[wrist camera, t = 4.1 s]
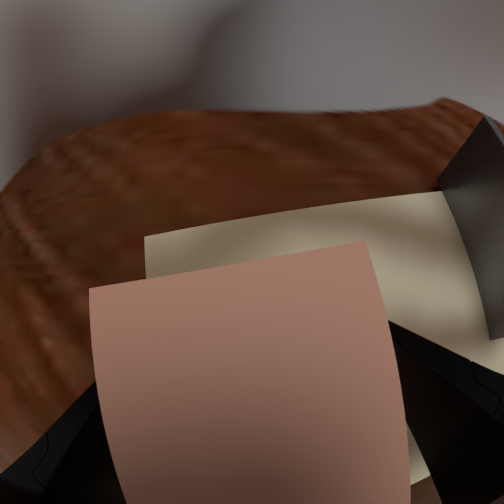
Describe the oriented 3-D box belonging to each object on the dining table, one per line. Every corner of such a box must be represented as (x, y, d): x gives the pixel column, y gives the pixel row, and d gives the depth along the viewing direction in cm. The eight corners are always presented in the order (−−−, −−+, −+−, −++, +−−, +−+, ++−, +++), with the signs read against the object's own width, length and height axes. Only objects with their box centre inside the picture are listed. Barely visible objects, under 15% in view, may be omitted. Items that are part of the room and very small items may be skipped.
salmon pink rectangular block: (317, 429, 12) (409, 527, 3) (218, 446, 12) (155, 566, 2) (295, 318, 14) (365, 239, 5) (197, 335, 14) (88, 288, 5)
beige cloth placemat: (517, 405, 12) (526, 405, 11) (200, 524, 10) (197, 531, 10) (466, 194, 18) (473, 188, 17) (150, 243, 17) (144, 236, 16)
